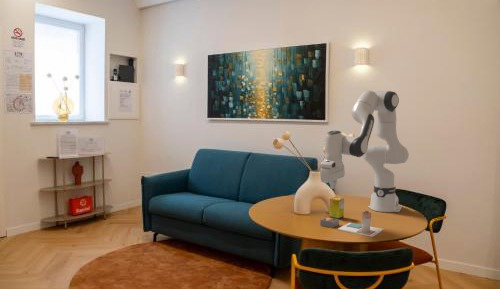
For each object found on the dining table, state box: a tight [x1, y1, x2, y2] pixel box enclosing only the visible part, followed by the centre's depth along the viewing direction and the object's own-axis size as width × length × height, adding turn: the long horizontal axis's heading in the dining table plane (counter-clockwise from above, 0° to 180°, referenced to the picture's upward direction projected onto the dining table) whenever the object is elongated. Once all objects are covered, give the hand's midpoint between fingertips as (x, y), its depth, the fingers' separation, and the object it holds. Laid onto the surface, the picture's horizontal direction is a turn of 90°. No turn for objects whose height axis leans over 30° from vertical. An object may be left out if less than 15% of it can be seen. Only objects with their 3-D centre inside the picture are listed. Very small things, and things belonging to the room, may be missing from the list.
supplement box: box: [329, 196, 345, 220], centre depth 222 cm, size 6×6×11 cm
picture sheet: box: [337, 222, 384, 238], centre depth 199 cm, size 14×18×1 cm
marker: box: [361, 210, 372, 232], centre depth 193 cm, size 4×4×10 cm
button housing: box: [319, 216, 340, 229], centre depth 207 cm, size 7×7×3 cm
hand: (332, 188), depth 208 cm, fingers closed
